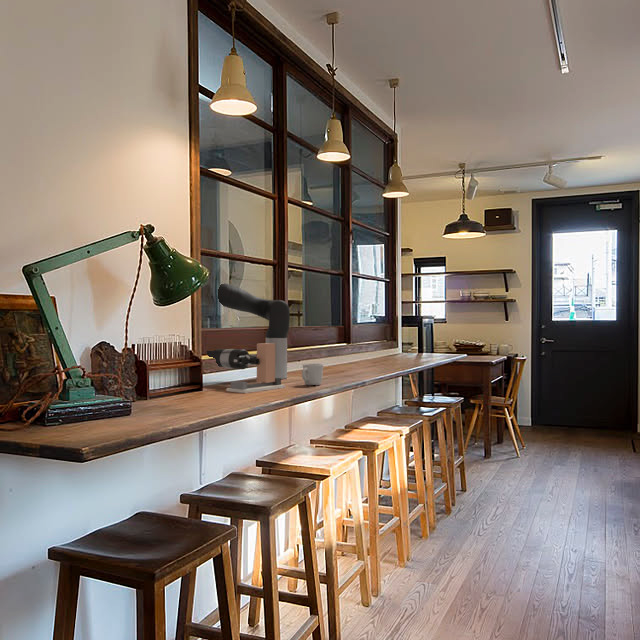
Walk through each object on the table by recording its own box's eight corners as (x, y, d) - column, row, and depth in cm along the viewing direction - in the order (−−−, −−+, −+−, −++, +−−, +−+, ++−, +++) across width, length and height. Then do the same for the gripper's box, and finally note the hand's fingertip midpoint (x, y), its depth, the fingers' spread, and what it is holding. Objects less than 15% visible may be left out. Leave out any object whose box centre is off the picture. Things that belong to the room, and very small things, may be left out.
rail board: (245, 393, 205) (245, 382, 205) (226, 391, 210) (226, 381, 210) (284, 387, 221) (285, 378, 221) (266, 385, 227) (266, 376, 227)
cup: (311, 387, 223) (311, 365, 223) (294, 385, 228) (294, 364, 228) (327, 384, 232) (327, 364, 232) (310, 383, 237) (310, 363, 237)
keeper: (265, 382, 216) (266, 343, 216) (256, 381, 219) (256, 343, 219) (274, 381, 220) (275, 343, 220) (265, 380, 223) (266, 343, 223)
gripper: (221, 349, 224) (253, 351, 214) (247, 348, 235) (279, 349, 225) (221, 369, 224) (253, 372, 214) (247, 367, 235) (279, 369, 225)
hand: (266, 360), depth 220 cm, fingers open, 8 cm apart
